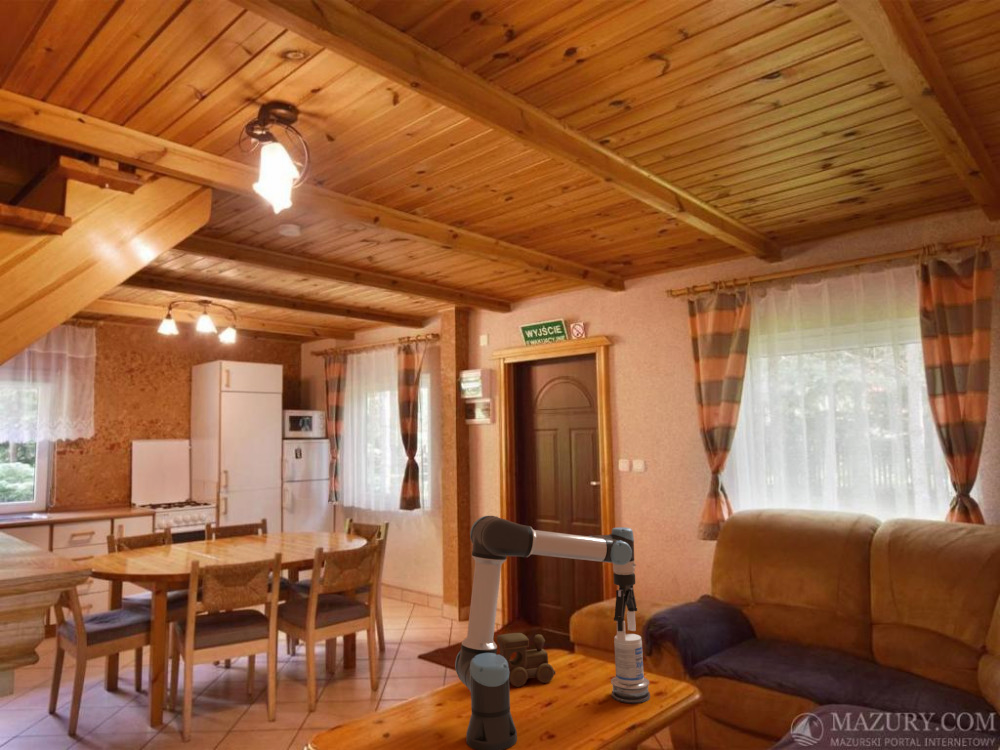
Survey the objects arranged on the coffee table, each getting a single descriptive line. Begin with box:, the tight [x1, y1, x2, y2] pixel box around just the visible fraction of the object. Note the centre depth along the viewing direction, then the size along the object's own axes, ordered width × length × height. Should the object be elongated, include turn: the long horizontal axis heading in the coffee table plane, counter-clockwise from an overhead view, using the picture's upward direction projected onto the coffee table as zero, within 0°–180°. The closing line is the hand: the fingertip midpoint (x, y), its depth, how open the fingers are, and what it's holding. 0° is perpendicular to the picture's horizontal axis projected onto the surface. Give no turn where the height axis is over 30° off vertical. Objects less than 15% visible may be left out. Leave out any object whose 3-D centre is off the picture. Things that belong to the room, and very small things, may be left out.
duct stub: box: [610, 676, 651, 705], centre depth 227 cm, size 13×13×5 cm
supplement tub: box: [613, 633, 645, 685], centre depth 228 cm, size 10×10×15 cm
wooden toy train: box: [496, 632, 556, 688], centre depth 246 cm, size 20×11×17 cm, turn 106°
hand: (626, 635), depth 229 cm, fingers open, 13 cm apart
